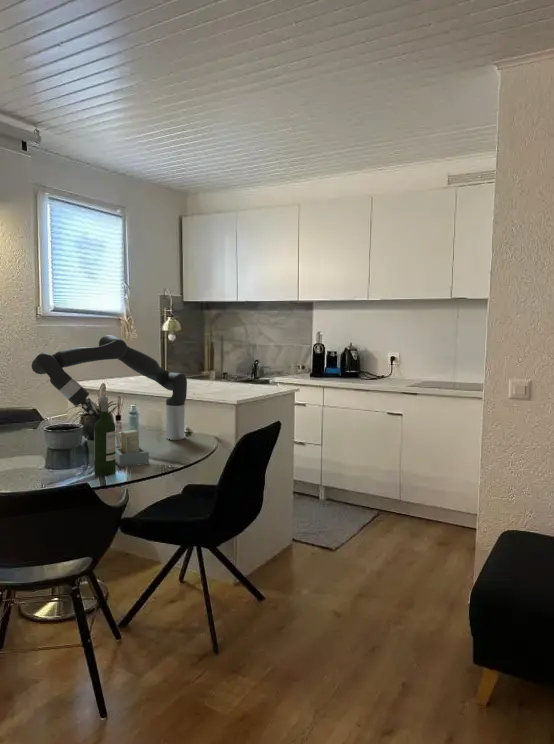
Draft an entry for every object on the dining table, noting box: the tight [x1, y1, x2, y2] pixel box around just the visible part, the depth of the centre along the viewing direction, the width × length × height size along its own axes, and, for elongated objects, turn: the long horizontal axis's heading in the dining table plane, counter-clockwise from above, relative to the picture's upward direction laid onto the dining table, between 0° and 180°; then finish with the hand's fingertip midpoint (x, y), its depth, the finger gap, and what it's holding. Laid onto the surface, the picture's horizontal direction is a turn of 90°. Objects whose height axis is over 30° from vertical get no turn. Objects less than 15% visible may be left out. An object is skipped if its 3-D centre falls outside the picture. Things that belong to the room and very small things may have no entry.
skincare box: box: [120, 429, 140, 454], centre depth 227 cm, size 6×4×12 cm
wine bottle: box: [93, 396, 117, 477], centre depth 209 cm, size 8×8×30 cm
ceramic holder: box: [115, 445, 150, 468], centre depth 227 cm, size 12×12×5 cm
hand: (103, 419), depth 223 cm, fingers open, 8 cm apart
